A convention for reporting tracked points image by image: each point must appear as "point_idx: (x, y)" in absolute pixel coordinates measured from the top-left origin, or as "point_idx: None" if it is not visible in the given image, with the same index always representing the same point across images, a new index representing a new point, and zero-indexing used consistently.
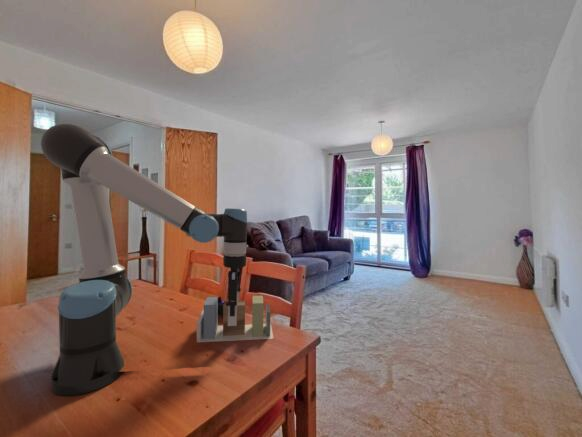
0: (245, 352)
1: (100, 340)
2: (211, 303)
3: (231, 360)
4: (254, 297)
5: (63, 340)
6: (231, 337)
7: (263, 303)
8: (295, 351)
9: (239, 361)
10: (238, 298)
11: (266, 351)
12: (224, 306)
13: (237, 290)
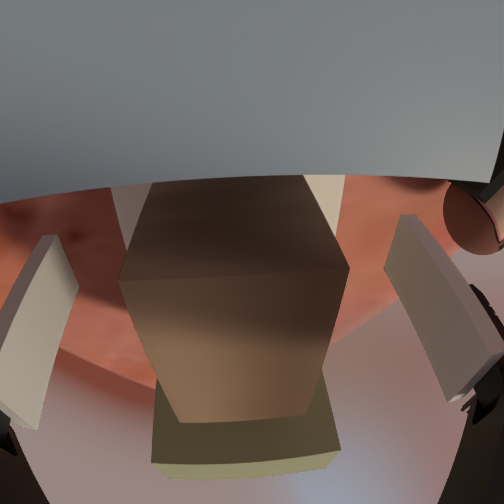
0: (67, 249)
1: None
2: (7, 112)
3: (3, 206)
4: (299, 460)
5: None
6: (150, 186)
7: (169, 477)
8: (116, 372)
9: (6, 235)
10: (425, 349)
11: (94, 313)
12: (126, 286)
13: (474, 403)
